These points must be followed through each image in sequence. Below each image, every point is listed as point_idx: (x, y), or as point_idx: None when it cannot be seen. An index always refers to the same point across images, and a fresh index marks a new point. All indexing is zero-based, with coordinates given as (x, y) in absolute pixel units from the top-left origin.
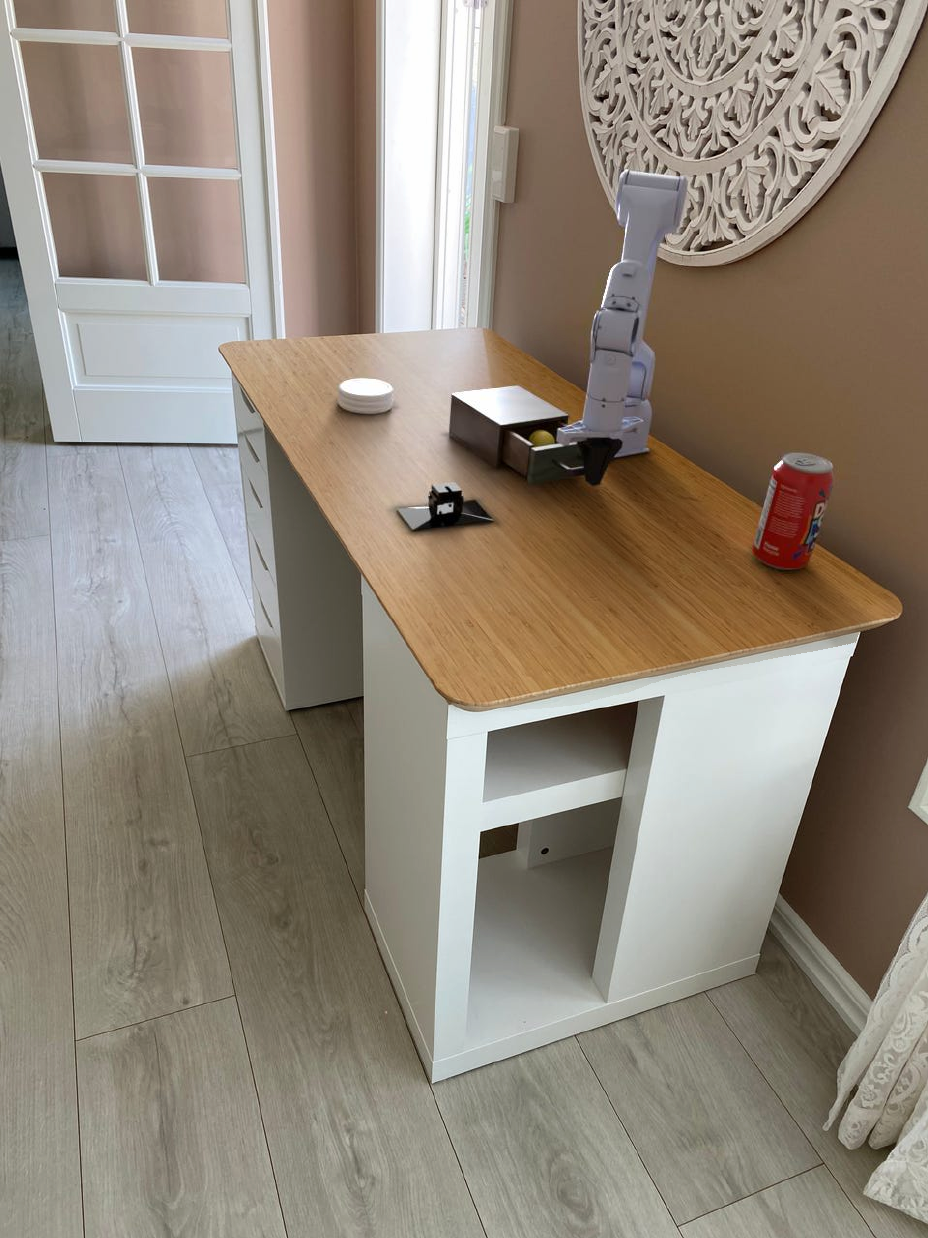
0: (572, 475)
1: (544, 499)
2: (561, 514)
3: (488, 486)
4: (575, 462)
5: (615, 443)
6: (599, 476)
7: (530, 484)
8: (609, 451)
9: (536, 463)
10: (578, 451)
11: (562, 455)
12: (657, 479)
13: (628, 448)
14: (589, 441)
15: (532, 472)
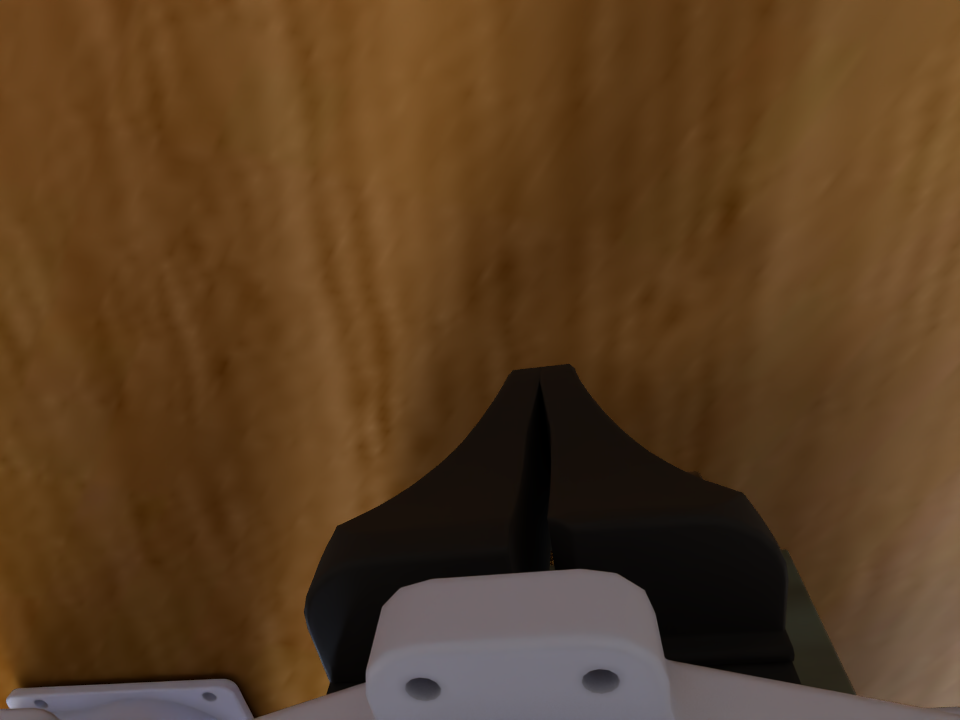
0: (697, 476)
1: (774, 429)
2: (810, 241)
3: (951, 603)
4: None
5: (440, 573)
6: (536, 393)
7: (787, 554)
8: (516, 503)
9: (817, 656)
10: None
11: None
12: (43, 478)
13: (104, 716)
14: (788, 678)
15: (815, 609)
